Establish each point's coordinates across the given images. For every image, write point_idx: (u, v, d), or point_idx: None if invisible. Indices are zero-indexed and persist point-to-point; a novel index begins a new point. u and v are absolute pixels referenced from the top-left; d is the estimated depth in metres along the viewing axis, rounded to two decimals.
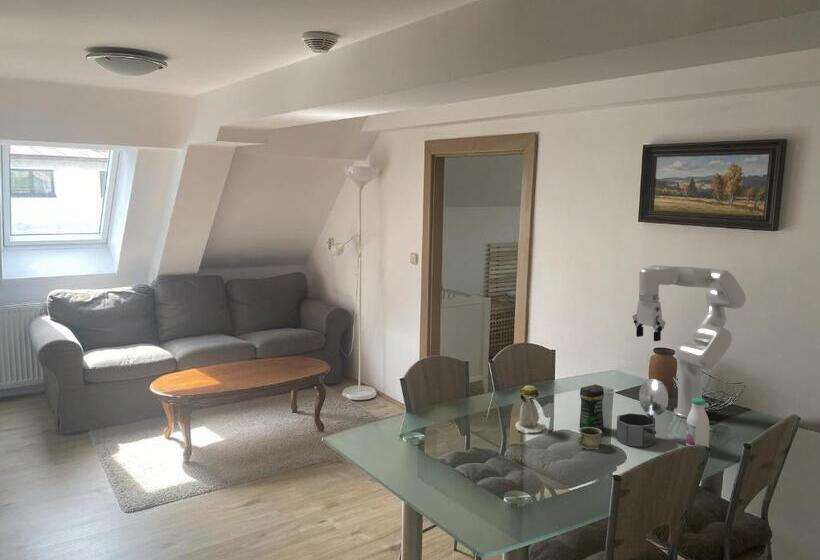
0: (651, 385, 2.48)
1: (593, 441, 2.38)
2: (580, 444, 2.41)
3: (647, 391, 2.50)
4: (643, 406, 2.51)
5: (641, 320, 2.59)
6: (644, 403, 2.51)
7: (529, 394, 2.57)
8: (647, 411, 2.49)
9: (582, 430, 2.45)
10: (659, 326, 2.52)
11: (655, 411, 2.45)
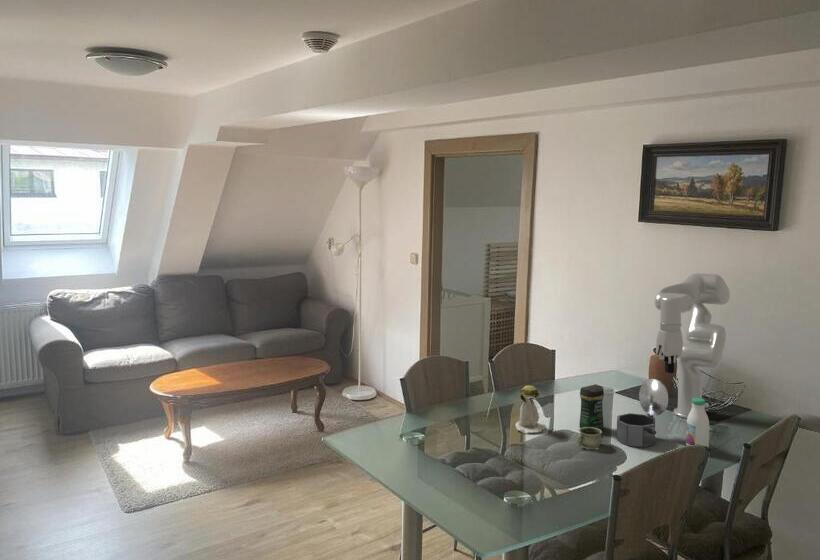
0: (651, 385, 2.48)
1: (593, 441, 2.38)
2: (580, 444, 2.41)
3: (647, 391, 2.50)
4: (643, 406, 2.51)
5: (670, 352, 2.46)
6: (644, 403, 2.51)
7: (529, 394, 2.57)
8: (647, 411, 2.49)
9: (582, 430, 2.45)
10: (676, 356, 2.49)
11: (655, 411, 2.45)
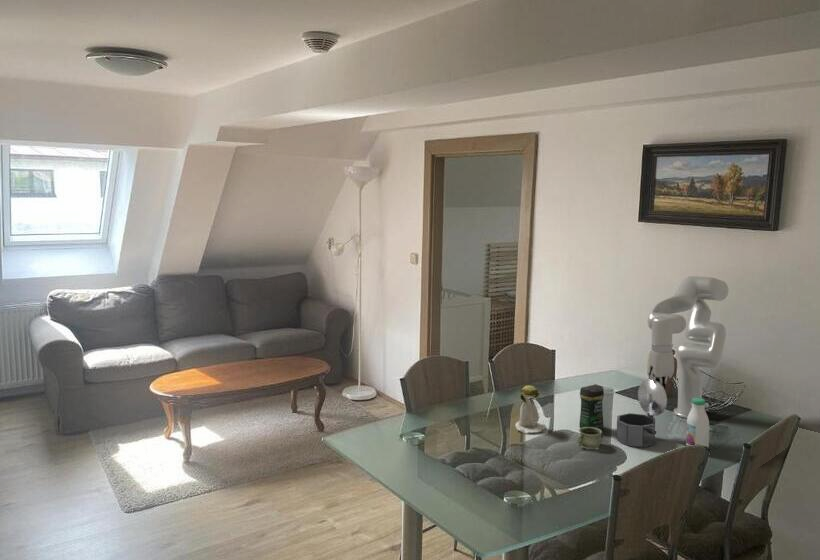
0: (649, 385, 2.48)
1: (593, 441, 2.38)
2: (580, 444, 2.41)
3: (646, 391, 2.50)
4: (643, 406, 2.51)
5: (662, 373, 2.45)
6: (643, 403, 2.51)
7: (529, 394, 2.57)
8: (647, 411, 2.49)
9: (582, 430, 2.45)
10: None
11: (655, 411, 2.45)
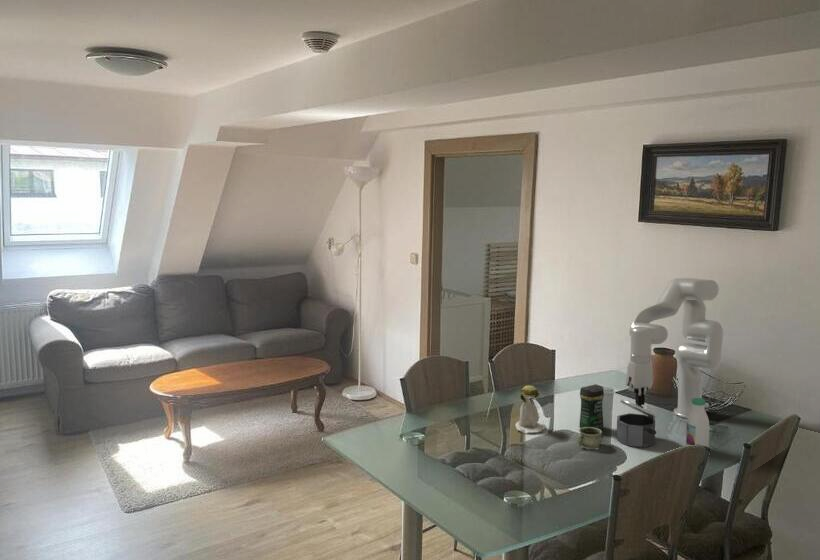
0: (627, 404, 2.45)
1: (593, 441, 2.38)
2: (580, 444, 2.41)
3: (629, 406, 2.47)
4: None
5: (641, 384, 2.41)
6: (637, 410, 2.50)
7: (529, 394, 2.57)
8: (645, 414, 2.49)
9: (582, 430, 2.45)
10: None
11: (650, 416, 2.45)
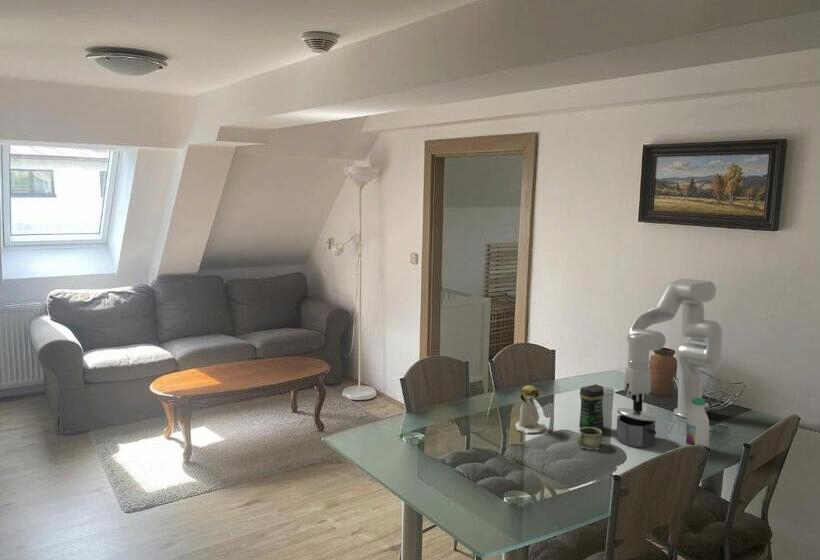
0: None
1: (593, 441, 2.38)
2: (580, 444, 2.41)
3: None
4: None
5: (638, 390, 2.41)
6: None
7: (529, 394, 2.57)
8: None
9: (582, 430, 2.45)
10: None
11: None
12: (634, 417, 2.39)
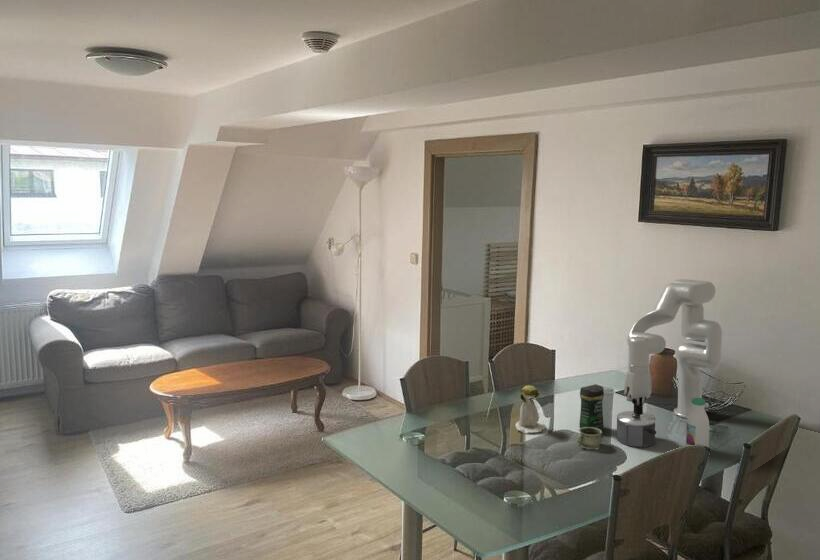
0: None
1: (593, 441, 2.38)
2: (580, 444, 2.41)
3: None
4: None
5: (639, 394, 2.42)
6: None
7: (529, 394, 2.57)
8: None
9: (582, 430, 2.45)
10: (644, 397, 2.45)
11: None
12: (633, 424, 2.39)
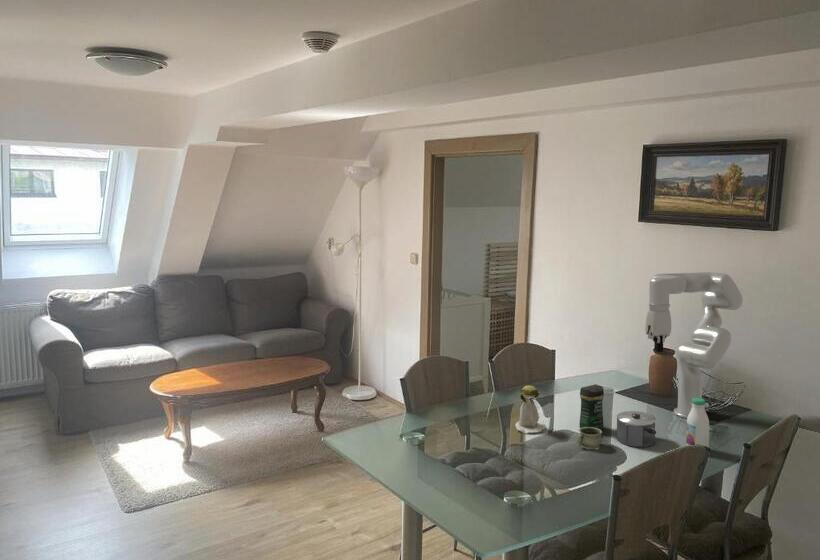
0: None
1: (593, 441, 2.38)
2: (580, 444, 2.41)
3: None
4: None
5: (659, 332, 2.53)
6: None
7: (529, 394, 2.57)
8: None
9: (582, 430, 2.45)
10: (665, 335, 2.56)
11: None
12: (633, 424, 2.39)
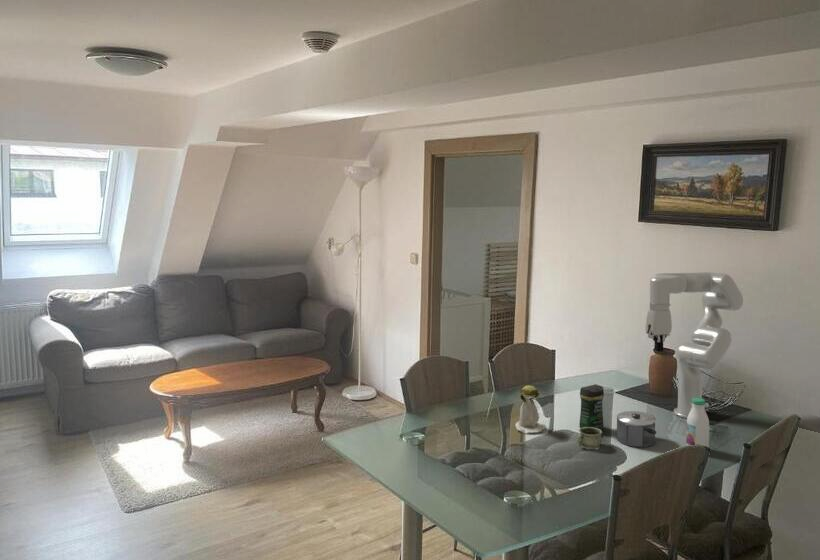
0: None
1: (593, 441, 2.38)
2: (580, 444, 2.41)
3: None
4: None
5: (660, 331, 2.53)
6: None
7: (529, 394, 2.57)
8: None
9: (582, 430, 2.45)
10: (665, 335, 2.56)
11: None
12: (633, 424, 2.39)
